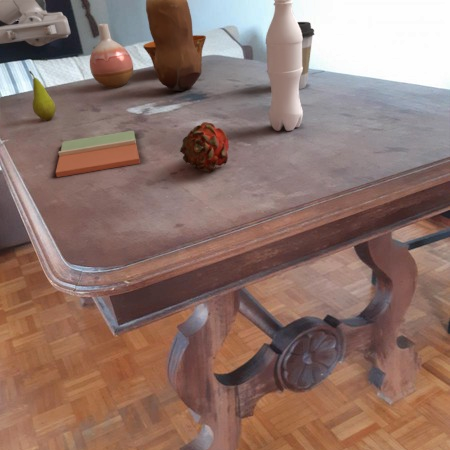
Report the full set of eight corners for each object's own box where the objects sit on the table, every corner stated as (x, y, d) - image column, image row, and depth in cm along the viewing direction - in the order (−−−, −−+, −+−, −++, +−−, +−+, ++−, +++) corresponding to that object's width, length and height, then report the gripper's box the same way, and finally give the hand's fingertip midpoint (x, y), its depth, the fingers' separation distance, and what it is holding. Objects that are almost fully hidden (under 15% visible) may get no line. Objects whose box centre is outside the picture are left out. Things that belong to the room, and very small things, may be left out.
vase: (111, 80, 163) (98, 22, 152) (144, 80, 157) (133, 19, 147) (86, 90, 153) (70, 28, 143) (120, 91, 148) (106, 26, 137)
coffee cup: (314, 80, 133) (315, 19, 125) (313, 90, 124) (314, 25, 116) (274, 83, 136) (272, 23, 127) (270, 93, 127) (267, 29, 118)
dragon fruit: (208, 189, 82) (203, 174, 93) (244, 154, 80) (235, 143, 91) (173, 153, 79) (172, 142, 90) (209, 116, 77) (204, 109, 88)
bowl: (136, 76, 164) (130, 44, 159) (184, 63, 175) (179, 33, 169) (173, 81, 151) (168, 47, 145) (221, 67, 162) (218, 34, 156)
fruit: (52, 122, 125) (37, 73, 117) (33, 123, 126) (17, 74, 119) (62, 116, 129) (49, 68, 122) (43, 117, 130) (29, 69, 123)
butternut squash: (173, 84, 148) (159, -11, 133) (211, 84, 143) (201, -15, 128) (149, 96, 138) (131, -5, 124) (189, 96, 133) (175, -9, 118)
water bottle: (264, 132, 100) (258, -8, 85) (274, 122, 105) (269, -12, 91) (298, 133, 97) (297, -11, 83) (306, 122, 103) (306, -15, 88)
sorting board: (57, 177, 90) (54, 168, 89) (63, 146, 106) (61, 138, 105) (139, 163, 92) (138, 154, 91) (134, 134, 108) (132, 126, 107)
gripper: (-6, 20, 134) (-16, 25, 123) (67, 11, 136) (64, 14, 125) (2, 45, 138) (-6, 52, 127) (73, 35, 140) (71, 41, 129)
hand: (29, 33), depth 126 cm, fingers open, 8 cm apart
